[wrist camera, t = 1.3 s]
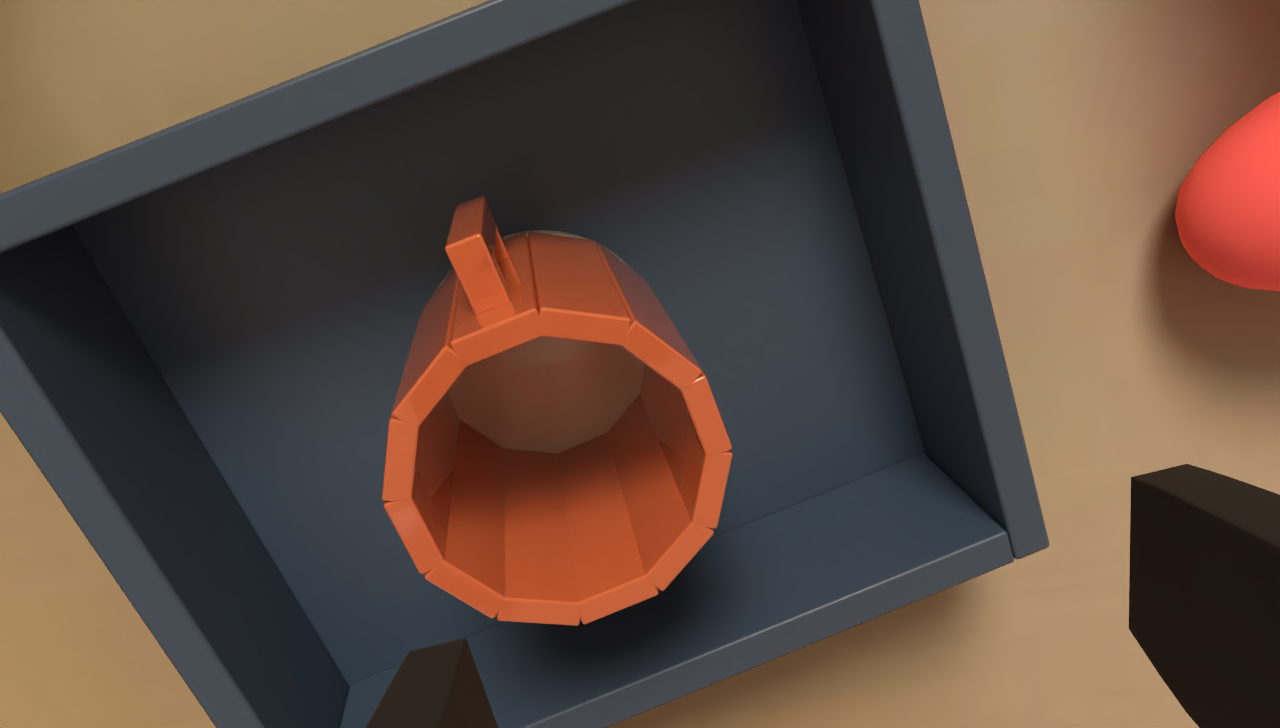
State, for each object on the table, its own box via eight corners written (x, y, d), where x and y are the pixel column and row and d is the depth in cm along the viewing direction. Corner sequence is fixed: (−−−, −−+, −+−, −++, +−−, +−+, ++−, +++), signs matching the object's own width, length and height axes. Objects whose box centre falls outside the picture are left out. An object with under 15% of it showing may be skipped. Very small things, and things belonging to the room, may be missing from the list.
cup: (479, 494, 21) (471, 672, 15) (352, 235, 19) (283, 322, 13) (694, 407, 21) (771, 550, 15) (591, 139, 19) (635, 182, 13)
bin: (336, 707, 23) (300, 854, 19) (21, 196, 19) (-120, 241, 14) (952, 458, 23) (1052, 548, 19) (796, -111, 19) (883, -156, 15)
